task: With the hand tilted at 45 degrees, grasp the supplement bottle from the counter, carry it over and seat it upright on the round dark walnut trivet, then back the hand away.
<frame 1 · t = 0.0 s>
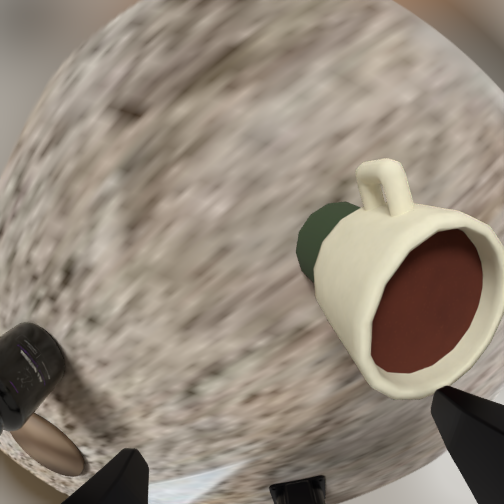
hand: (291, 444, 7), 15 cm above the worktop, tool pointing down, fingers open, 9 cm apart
walnut trivet: (45, 442, 25), on the worktop
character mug: (336, 244, 21), on the worktop
supplement bottle: (40, 350, 22), on the worktop
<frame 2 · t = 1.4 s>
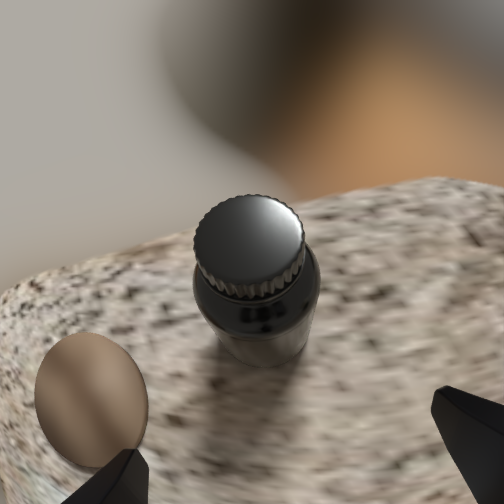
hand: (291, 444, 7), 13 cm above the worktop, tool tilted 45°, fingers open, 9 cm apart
walnut trivet: (87, 400, 20), on the worktop
supplement bottle: (265, 326, 23), on the worktop
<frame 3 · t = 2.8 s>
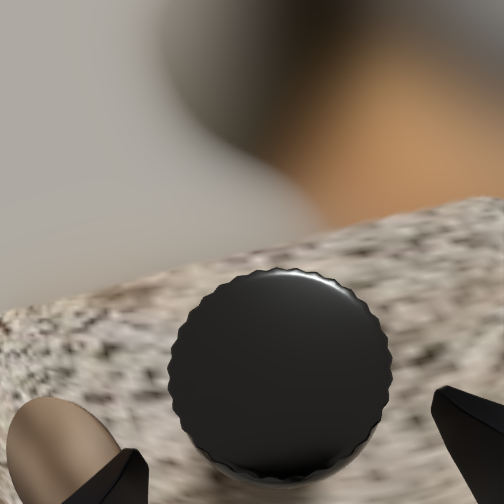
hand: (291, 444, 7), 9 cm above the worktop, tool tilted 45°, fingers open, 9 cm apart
walnut trivet: (64, 474, 13), on the worktop
supplement bottle: (282, 405, 16), on the worktop
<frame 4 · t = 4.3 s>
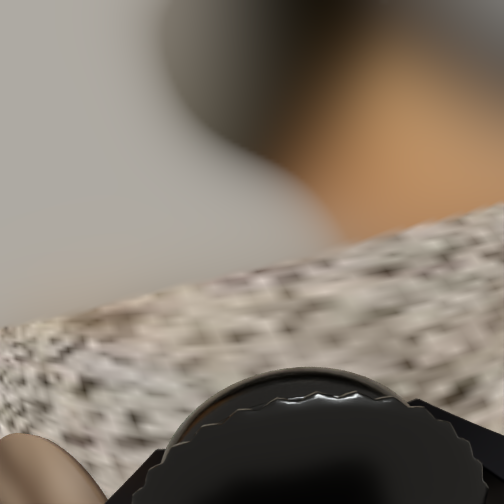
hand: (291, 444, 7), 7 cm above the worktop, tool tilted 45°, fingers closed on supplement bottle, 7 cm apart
supplement bottle: (291, 458, 12), on the worktop, touching gripper
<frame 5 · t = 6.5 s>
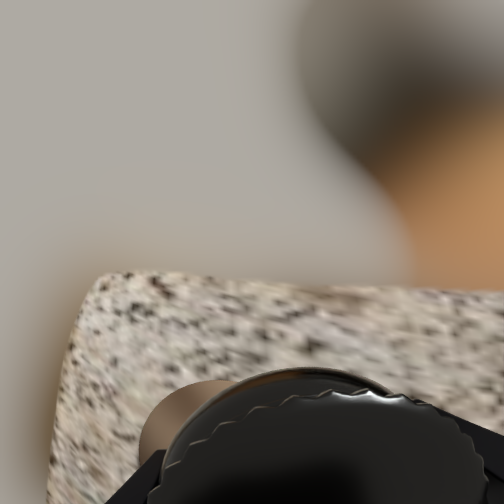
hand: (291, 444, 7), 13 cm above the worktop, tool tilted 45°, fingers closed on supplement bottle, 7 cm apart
walnut trivet: (221, 459, 17), on the worktop
supplement bottle: (285, 458, 12), point 6 cm above the worktop, touching gripper
when the fingers open (9 cm above the worktop, at t = 8.7 s): supplement bottle stays where it is, resting on walnut trivet.
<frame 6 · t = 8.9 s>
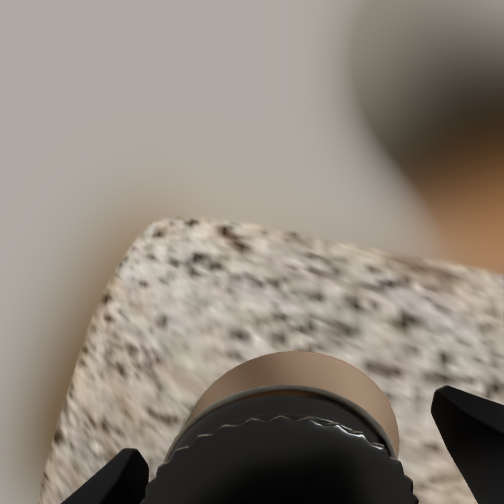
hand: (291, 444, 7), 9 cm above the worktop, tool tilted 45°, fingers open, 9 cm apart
walnut trivet: (291, 452, 14), on the worktop
supplement bottle: (282, 458, 13), point 1 cm above the worktop, touching walnut trivet
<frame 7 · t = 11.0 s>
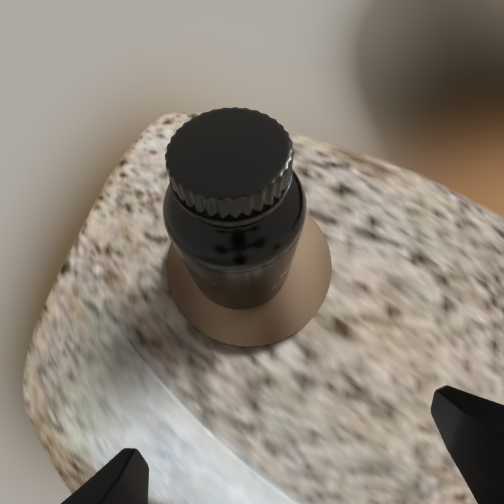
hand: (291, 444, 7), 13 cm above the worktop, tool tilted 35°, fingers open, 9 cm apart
walnut trivet: (249, 265, 22), on the worktop
supplement bottle: (240, 265, 22), point 1 cm above the worktop, touching walnut trivet
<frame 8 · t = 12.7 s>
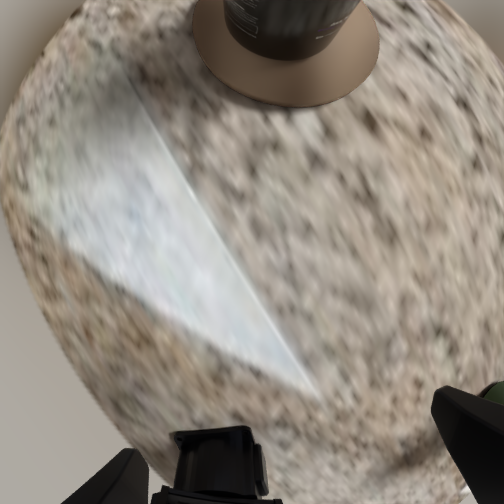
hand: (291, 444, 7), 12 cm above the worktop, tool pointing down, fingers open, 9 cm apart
walnut trivet: (287, 27, 15), on the worktop
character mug: (487, 398, 23), on the worktop
supplement bottle: (280, 21, 14), point 1 cm above the worktop, touching walnut trivet
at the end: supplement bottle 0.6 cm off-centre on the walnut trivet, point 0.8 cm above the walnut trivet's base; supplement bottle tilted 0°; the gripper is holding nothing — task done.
